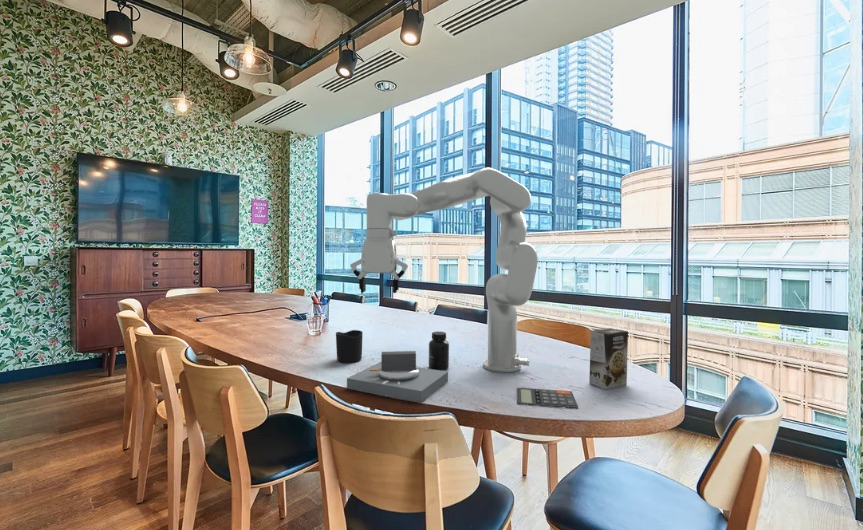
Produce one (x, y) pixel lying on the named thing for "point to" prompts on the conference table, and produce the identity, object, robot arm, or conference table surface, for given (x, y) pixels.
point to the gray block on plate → (398, 365)
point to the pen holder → (349, 346)
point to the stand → (399, 383)
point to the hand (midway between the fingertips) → (379, 292)
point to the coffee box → (608, 358)
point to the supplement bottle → (438, 351)
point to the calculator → (546, 397)
